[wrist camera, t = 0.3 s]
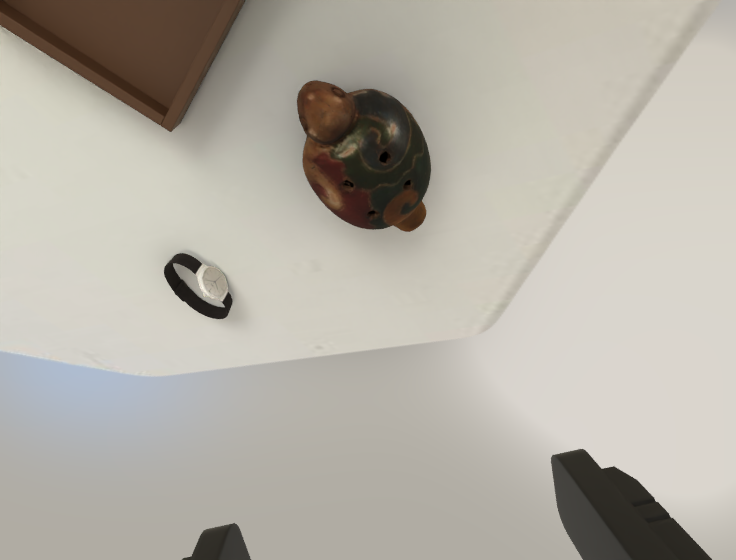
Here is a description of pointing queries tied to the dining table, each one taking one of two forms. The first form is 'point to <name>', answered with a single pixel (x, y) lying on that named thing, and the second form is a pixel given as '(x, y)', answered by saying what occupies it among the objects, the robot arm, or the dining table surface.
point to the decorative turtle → (364, 156)
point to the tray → (130, 45)
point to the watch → (208, 281)
